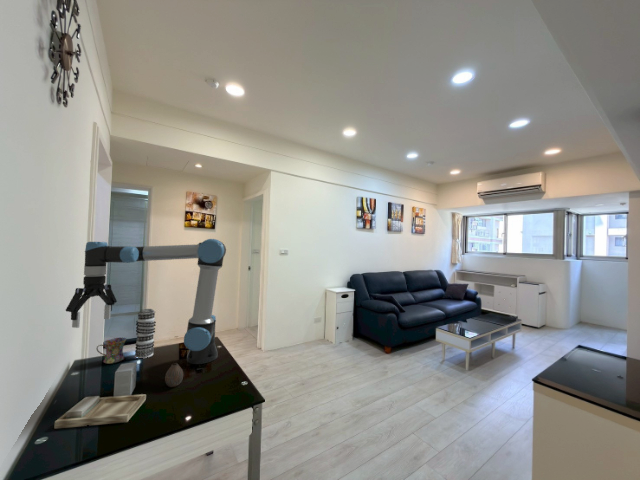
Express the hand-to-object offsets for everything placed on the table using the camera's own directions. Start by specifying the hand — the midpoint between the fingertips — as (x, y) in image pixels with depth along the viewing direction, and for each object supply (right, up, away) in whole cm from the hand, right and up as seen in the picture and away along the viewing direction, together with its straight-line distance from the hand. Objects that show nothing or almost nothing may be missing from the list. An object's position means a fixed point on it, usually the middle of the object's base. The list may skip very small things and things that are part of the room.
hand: (92, 323), depth 114 cm
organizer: (+25, -24, -24) cm, 42 cm away
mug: (-6, -26, +17) cm, 32 cm away
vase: (+39, -26, -4) cm, 47 cm away
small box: (+23, -25, -11) cm, 36 cm away
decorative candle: (+6, -27, +25) cm, 37 cm away
